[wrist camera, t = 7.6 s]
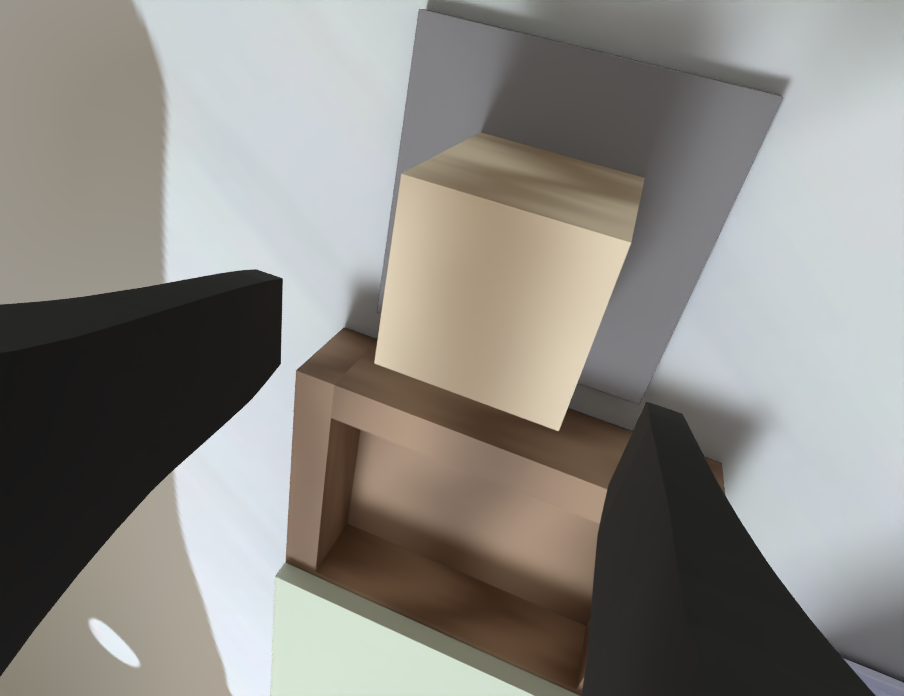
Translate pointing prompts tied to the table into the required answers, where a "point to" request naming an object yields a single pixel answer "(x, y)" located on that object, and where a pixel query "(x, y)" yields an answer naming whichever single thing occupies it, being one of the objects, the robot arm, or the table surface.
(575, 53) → the mat
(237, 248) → the table surface
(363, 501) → the brown wooden shallow box
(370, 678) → the lid
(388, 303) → the block
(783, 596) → the robot arm
